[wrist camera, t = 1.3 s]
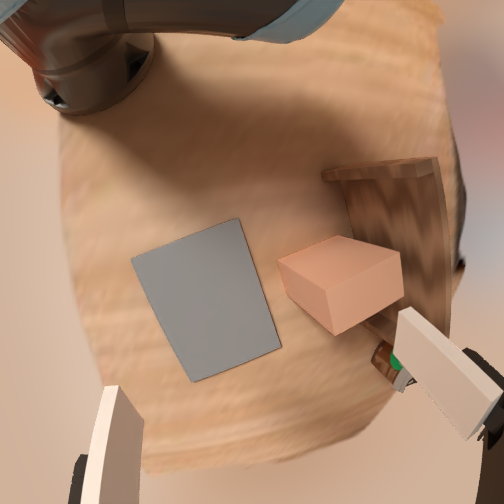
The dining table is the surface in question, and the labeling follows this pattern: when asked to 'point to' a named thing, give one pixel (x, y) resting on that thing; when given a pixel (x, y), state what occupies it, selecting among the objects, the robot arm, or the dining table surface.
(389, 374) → the food container
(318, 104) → the dining table surface
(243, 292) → the slate mat
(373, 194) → the brown wooden board
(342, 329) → the carton
